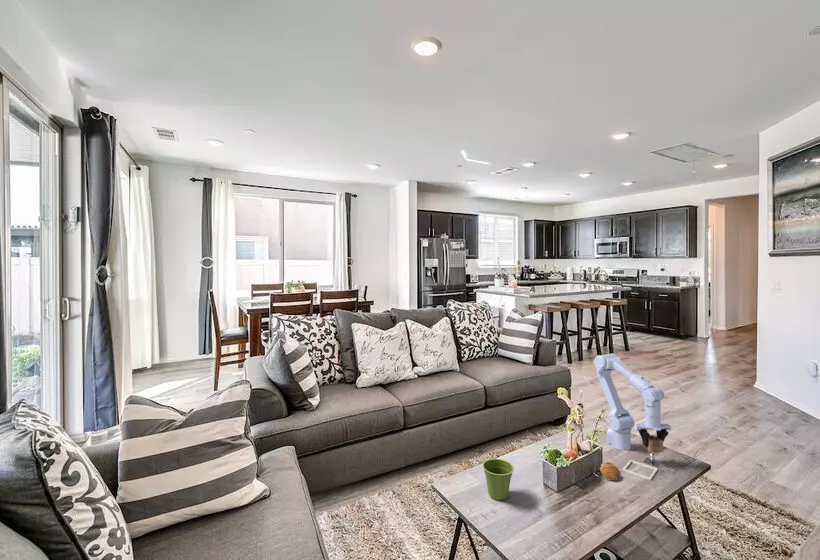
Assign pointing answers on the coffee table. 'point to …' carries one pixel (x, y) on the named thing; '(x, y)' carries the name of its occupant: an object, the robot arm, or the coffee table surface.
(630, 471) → the tray
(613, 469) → the pastry
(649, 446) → the brown framed cube
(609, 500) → the coffee table surface
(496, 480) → the plant pot
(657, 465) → the grey base with peg
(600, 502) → the coffee table surface
